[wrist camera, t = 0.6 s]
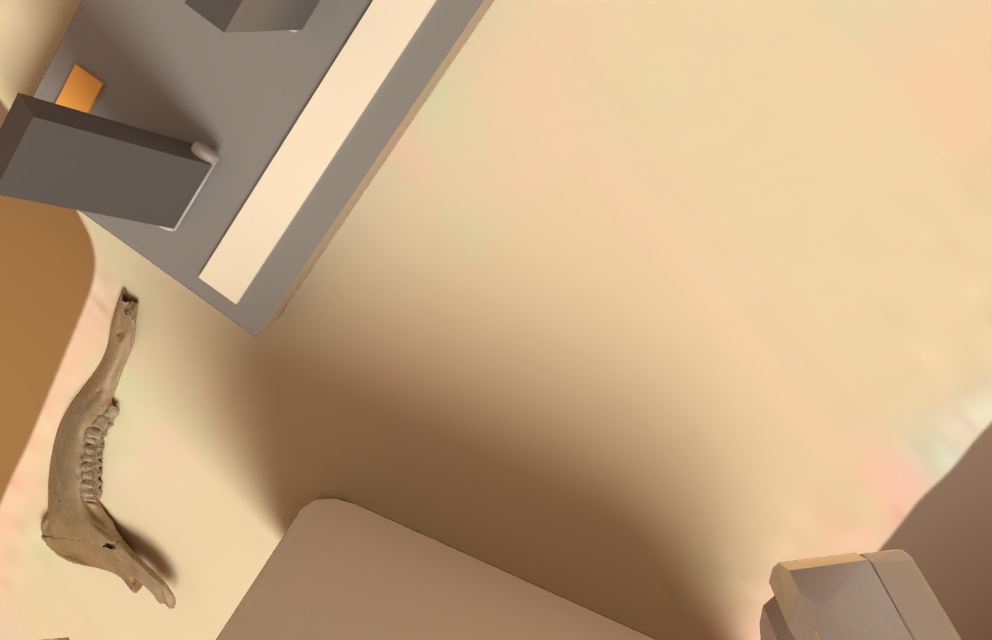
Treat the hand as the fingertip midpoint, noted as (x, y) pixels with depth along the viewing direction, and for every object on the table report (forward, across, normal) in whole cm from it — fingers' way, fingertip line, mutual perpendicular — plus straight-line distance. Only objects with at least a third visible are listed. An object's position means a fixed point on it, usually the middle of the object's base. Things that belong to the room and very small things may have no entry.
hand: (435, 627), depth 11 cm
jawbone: (+37, +17, +31) cm, 51 cm away
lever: (+36, +11, +12) cm, 40 cm away
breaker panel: (+41, +7, +8) cm, 42 cm away
